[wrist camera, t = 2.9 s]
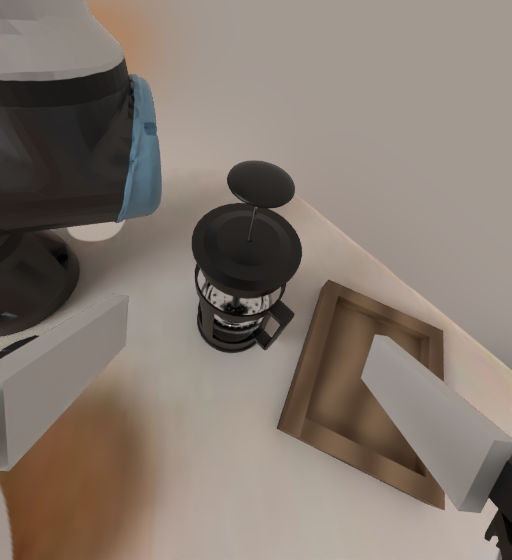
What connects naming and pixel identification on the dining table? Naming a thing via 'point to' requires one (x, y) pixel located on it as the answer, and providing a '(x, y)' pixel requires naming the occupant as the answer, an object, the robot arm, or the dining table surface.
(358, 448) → the walnut tray
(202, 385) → the dining table surface
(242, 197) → the french press
